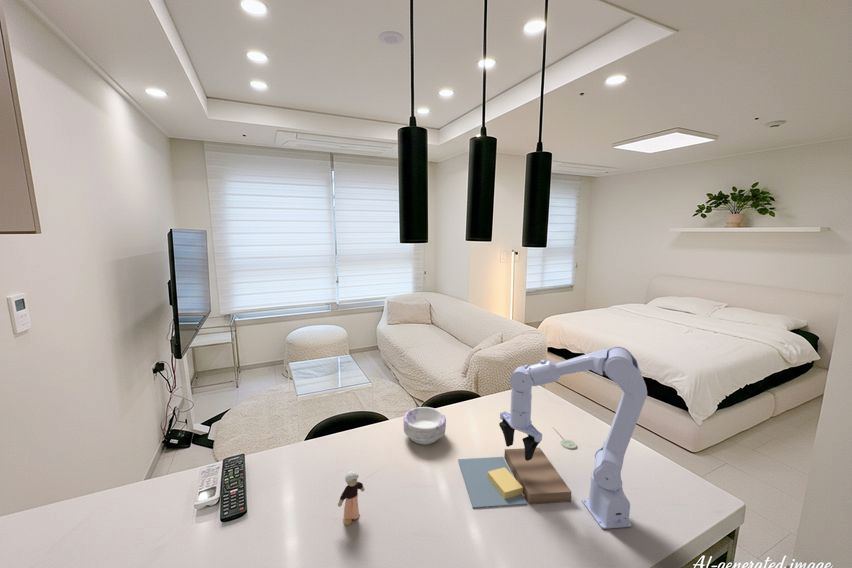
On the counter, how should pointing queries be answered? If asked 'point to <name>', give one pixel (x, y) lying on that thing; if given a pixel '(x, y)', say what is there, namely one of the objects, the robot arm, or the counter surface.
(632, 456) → the counter surface
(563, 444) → the pale green spoon
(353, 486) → the grandmother figurine
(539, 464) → the brown wooden board
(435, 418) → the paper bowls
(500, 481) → the yellow flat block
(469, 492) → the mat
